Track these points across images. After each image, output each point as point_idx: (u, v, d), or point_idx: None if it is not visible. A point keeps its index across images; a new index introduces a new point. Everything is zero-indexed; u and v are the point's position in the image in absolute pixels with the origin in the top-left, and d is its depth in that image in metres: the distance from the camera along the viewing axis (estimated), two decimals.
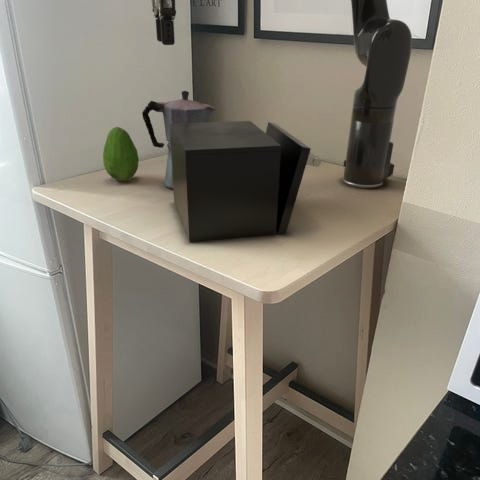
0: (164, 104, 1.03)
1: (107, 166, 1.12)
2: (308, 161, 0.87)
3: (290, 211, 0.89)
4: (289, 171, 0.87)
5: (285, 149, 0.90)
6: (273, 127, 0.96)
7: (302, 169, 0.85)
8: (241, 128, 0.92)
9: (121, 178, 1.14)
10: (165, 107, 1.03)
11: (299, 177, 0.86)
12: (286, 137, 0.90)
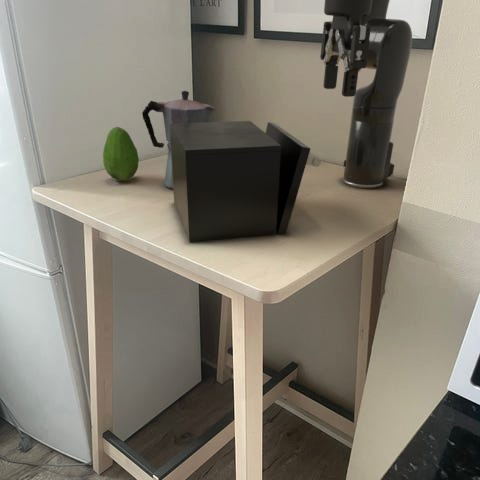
0: (164, 104, 1.03)
1: (107, 166, 1.12)
2: (308, 161, 0.87)
3: (290, 211, 0.89)
4: (289, 171, 0.87)
5: (285, 149, 0.90)
6: (273, 127, 0.96)
7: (302, 169, 0.85)
8: (241, 128, 0.92)
9: (121, 178, 1.14)
10: (165, 107, 1.03)
11: (299, 177, 0.86)
12: (286, 137, 0.90)
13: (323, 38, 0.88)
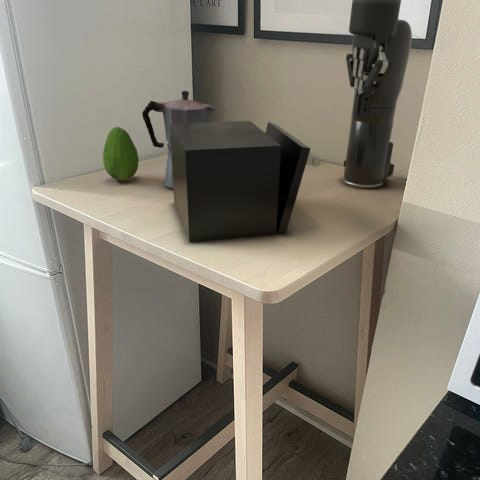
0: (164, 104, 1.03)
1: (107, 166, 1.12)
2: (308, 161, 0.87)
3: (290, 211, 0.89)
4: (289, 171, 0.87)
5: (285, 149, 0.90)
6: (273, 127, 0.96)
7: (302, 169, 0.85)
8: (241, 128, 0.92)
9: (121, 178, 1.14)
10: (165, 107, 1.03)
11: (299, 177, 0.86)
12: (286, 137, 0.90)
13: (349, 68, 0.87)
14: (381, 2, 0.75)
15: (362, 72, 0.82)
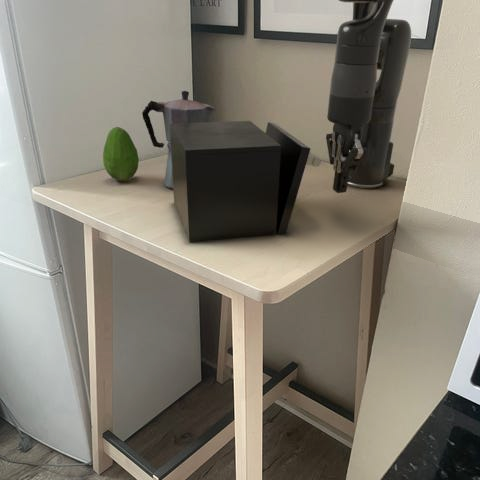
0: (164, 104, 1.03)
1: (107, 166, 1.12)
2: (308, 161, 0.87)
3: (290, 211, 0.89)
4: (289, 171, 0.87)
5: (285, 149, 0.90)
6: (273, 127, 0.96)
7: (302, 169, 0.85)
8: (241, 128, 0.92)
9: (121, 178, 1.14)
10: (165, 107, 1.03)
11: (299, 177, 0.86)
12: (286, 137, 0.90)
13: (328, 147, 0.94)
14: (355, 97, 0.82)
15: (340, 155, 0.89)
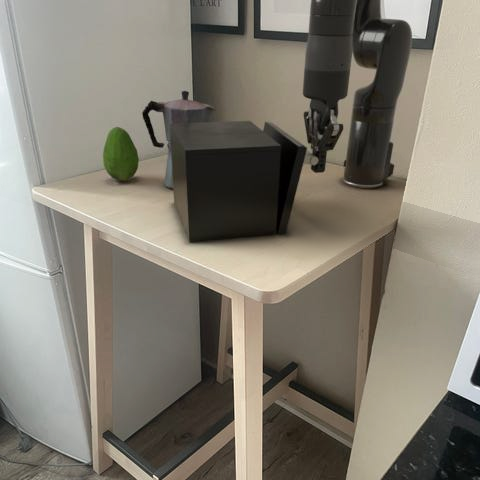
0: (164, 104, 1.03)
1: (107, 166, 1.12)
2: (305, 160, 0.87)
3: (289, 211, 0.89)
4: (287, 171, 0.87)
5: (282, 149, 0.90)
6: (270, 127, 0.96)
7: (299, 168, 0.85)
8: (241, 128, 0.92)
9: (121, 178, 1.14)
10: (165, 107, 1.03)
11: (297, 177, 0.86)
12: (282, 137, 0.90)
13: (306, 125, 0.91)
14: (330, 71, 0.79)
15: (316, 132, 0.86)
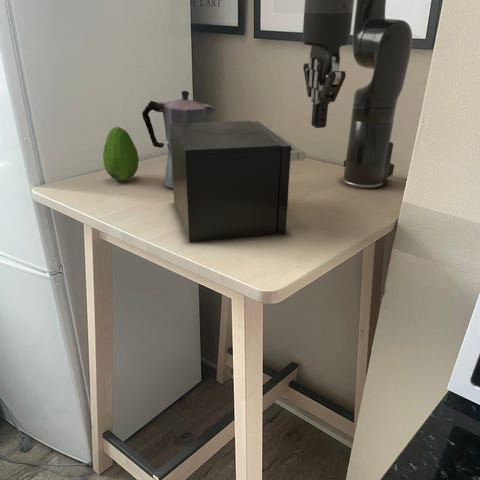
0: (164, 104, 1.03)
1: (107, 166, 1.12)
2: (293, 157, 0.86)
3: (285, 210, 0.88)
4: None
5: None
6: None
7: (287, 168, 0.84)
8: (241, 128, 0.92)
9: (121, 178, 1.14)
10: (165, 107, 1.03)
11: (286, 176, 0.85)
12: None
13: (306, 78, 0.86)
14: (331, 13, 0.74)
15: (317, 83, 0.81)
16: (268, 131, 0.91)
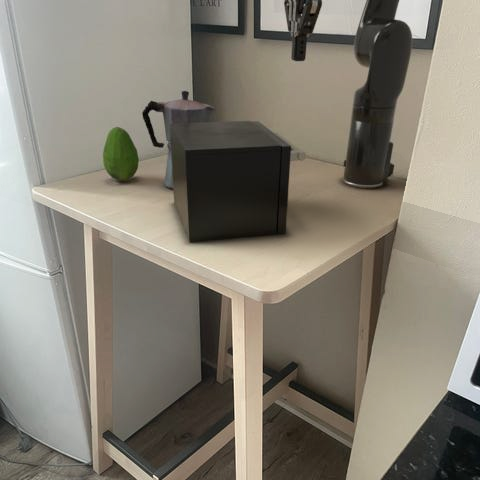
0: (164, 104, 1.03)
1: (107, 166, 1.12)
2: (293, 157, 0.86)
3: (285, 210, 0.88)
4: None
5: None
6: None
7: (287, 168, 0.84)
8: (241, 128, 0.92)
9: (121, 178, 1.14)
10: (165, 107, 1.03)
11: (286, 176, 0.85)
12: None
13: (286, 13, 0.90)
14: None
15: (296, 14, 0.85)
16: (268, 131, 0.91)
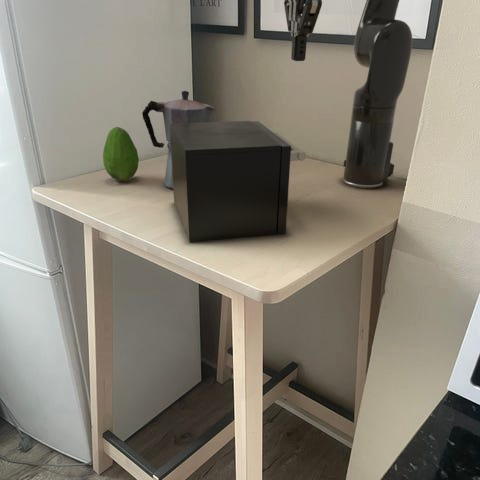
0: (164, 104, 1.03)
1: (107, 166, 1.12)
2: (293, 157, 0.86)
3: (285, 210, 0.88)
4: None
5: None
6: None
7: (287, 168, 0.84)
8: (241, 128, 0.92)
9: (121, 178, 1.14)
10: (165, 107, 1.03)
11: (286, 176, 0.85)
12: None
13: (286, 13, 0.90)
14: None
15: (296, 14, 0.85)
16: (268, 131, 0.91)
